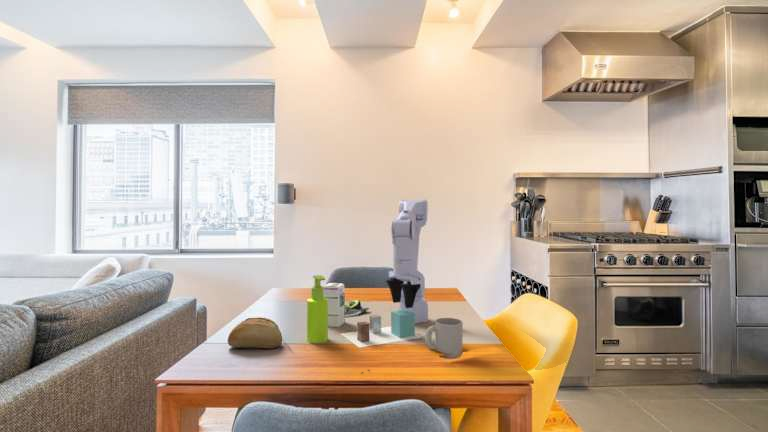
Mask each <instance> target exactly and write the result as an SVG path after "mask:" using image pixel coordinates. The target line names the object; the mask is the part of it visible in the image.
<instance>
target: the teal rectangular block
mask: <svg viewBox="0 0 768 432" xmlns="http://www.w3.org/2000/svg"><path fill="white" fill-rule="evenodd" d="M390 313H391V314H390V316H391V317H390V326H391V333H392V334H393V335H395V336H397V337H399V338H403V337H409V336H415V334H416V329H415V328H416V324H415V313H413V312H410V311H408V310H399V309H398V310H393V311H392V310H391V311H390Z"/></svg>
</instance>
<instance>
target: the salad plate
mask: <svg viewBox="0 0 768 432" xmlns="http://www.w3.org/2000/svg"><path fill="white" fill-rule="evenodd" d="M368 310H370V307H365V306H362V304H361V301H360V299H357V298H356V299H352V300H350V301H348V303H347V304H346V303H345V319H347V318H353V317H354V318H355V317H358V316H359V314H360V315H362V314H363V313H364V312H366V311H368Z"/></svg>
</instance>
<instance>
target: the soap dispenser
mask: <svg viewBox="0 0 768 432" xmlns="http://www.w3.org/2000/svg"><path fill="white" fill-rule="evenodd" d="M312 278H313V279H314V285H313V286H311V297H310V298H307V300H306V341H307V343H310V344H322V343H325V342H327V341H328V339H329V333H328V332H329V330H328V329H329V326H328V299H327V298H323V286H322V284H321V281H326V278H325V277H324V276H323V275H321V274H319V275H318V274H317V275H312Z"/></svg>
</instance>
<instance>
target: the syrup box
mask: <svg viewBox="0 0 768 432" xmlns="http://www.w3.org/2000/svg"><path fill="white" fill-rule="evenodd" d="M322 287H323V298H327V299H328V327H337V328H339V327H341V326H342V325H344V324H345V323H346V318H345V305H346V302H345V300H346V298H345V295H346V294H345V293H346V292H345V290H346V289H345V283H341V282H339V283H338V282H329V283H327V284H325V285H323V286H322Z"/></svg>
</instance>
